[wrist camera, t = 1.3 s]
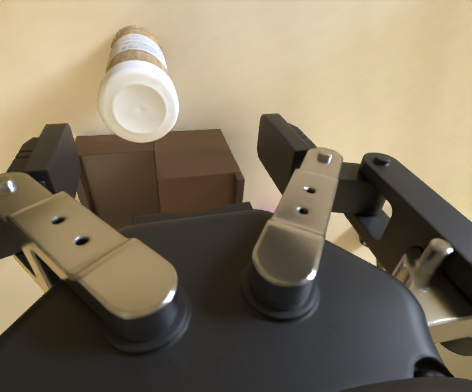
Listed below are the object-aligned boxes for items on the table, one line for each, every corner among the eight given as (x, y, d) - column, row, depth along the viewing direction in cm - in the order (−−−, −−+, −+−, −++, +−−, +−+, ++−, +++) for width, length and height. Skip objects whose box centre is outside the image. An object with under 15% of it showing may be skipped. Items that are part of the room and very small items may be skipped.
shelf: (76, 136, 31) (57, 197, 23) (220, 128, 34) (244, 179, 27) (103, 234, 39) (96, 302, 32) (216, 220, 43) (234, 278, 35)
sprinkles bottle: (146, 87, 30) (153, 157, 20) (101, 57, 27) (81, 119, 17) (173, 47, 28) (195, 101, 18) (127, 11, 26) (123, 50, 15)
